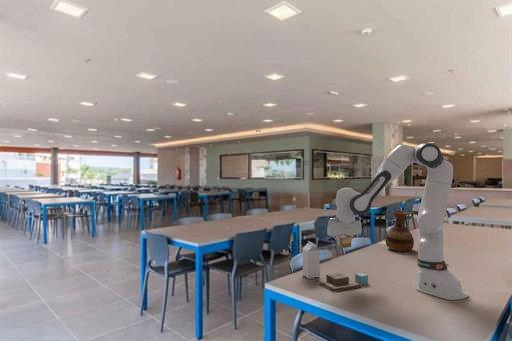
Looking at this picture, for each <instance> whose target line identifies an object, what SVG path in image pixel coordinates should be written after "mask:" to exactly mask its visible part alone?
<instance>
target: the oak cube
mask: <svg viewBox="0 0 512 341" xmlns="http://www.w3.org/2000/svg"><path fill="white" fill-rule="evenodd" d="M339 239H340V241H342V242H341V243H342V244H338V243H337V247H340V248H343V249H345V248H352V243H351V238H350V236H348V235H344V236H340V238H339Z"/></svg>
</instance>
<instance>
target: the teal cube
mask: <svg viewBox="0 0 512 341" xmlns="http://www.w3.org/2000/svg"><path fill="white" fill-rule="evenodd" d="M354 279H355V280H354V282H356V283H359V284H361V286H363V284H364V285H368V284H369V275H368V274H365V273H363V272H360V273H354Z"/></svg>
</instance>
